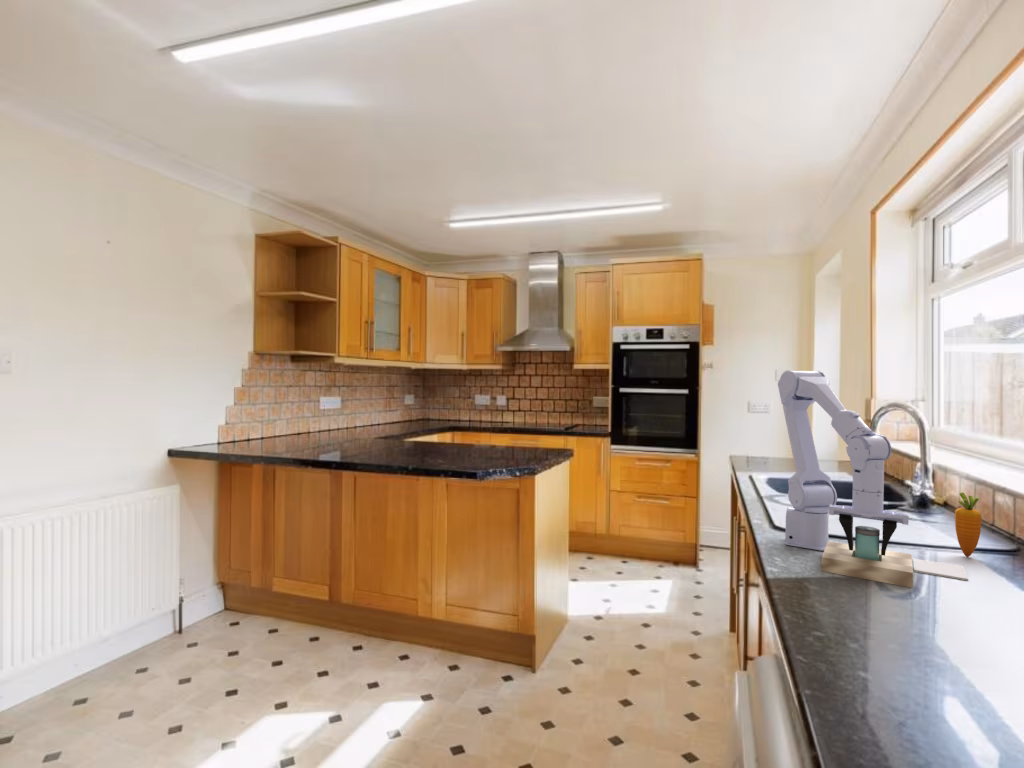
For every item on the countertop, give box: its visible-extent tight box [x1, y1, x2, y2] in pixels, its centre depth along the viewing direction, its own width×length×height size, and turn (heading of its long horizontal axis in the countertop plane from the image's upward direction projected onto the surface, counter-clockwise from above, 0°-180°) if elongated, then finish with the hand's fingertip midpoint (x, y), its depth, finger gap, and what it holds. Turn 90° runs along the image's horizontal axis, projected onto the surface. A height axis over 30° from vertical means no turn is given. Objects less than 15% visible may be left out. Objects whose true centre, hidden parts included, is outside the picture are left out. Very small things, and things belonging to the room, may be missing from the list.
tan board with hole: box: [821, 540, 914, 589], centre depth 119 cm, size 16×14×3 cm
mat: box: [912, 557, 969, 582], centre depth 119 cm, size 9×9×1 cm
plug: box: [854, 525, 881, 561], centre depth 119 cm, size 4×4×9 cm
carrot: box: [954, 491, 982, 558], centre depth 128 cm, size 5×5×15 cm
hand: (866, 551), depth 119 cm, fingers open, 5 cm apart
